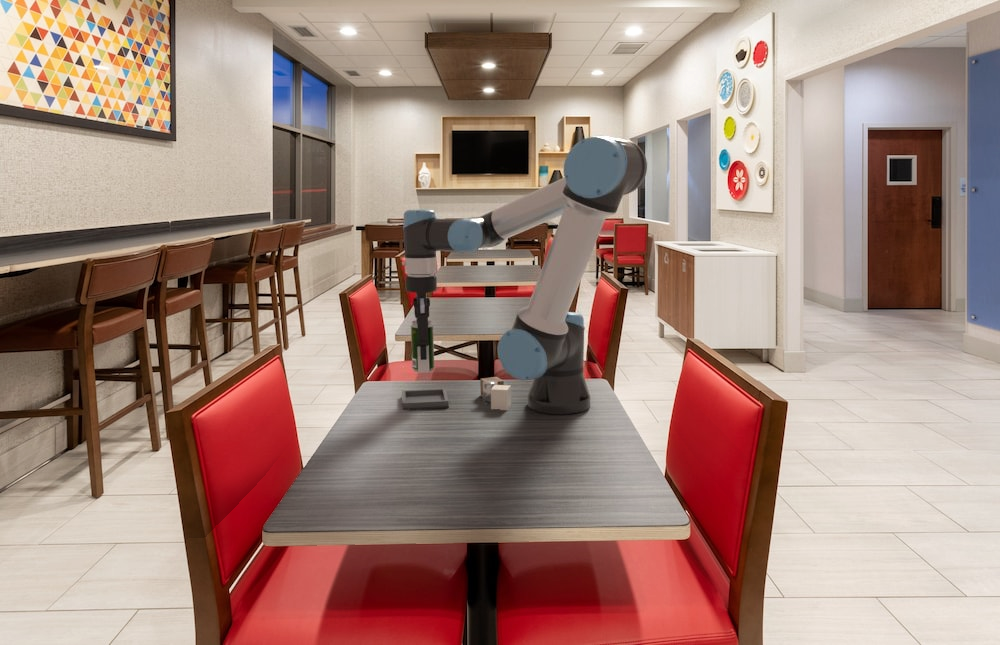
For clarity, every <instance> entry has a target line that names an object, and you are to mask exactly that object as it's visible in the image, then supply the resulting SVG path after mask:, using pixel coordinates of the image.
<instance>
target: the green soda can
mask: <svg viewBox="0 0 1000 645" xmlns="http://www.w3.org/2000/svg"><path fill="white" fill-rule="evenodd" d="M410 339H411V367H412V370H413V371H414V372H417V373H418V352H417V347H415V344H417V343H418V330H417V320H412V321H411V325H410ZM428 341H429V372H431V371H433V370H434V368H435V345H434V324H433V321H432V320H430V319H428Z"/></svg>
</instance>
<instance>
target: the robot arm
mask: <svg viewBox="0 0 1000 645" xmlns="http://www.w3.org/2000/svg"><path fill="white" fill-rule="evenodd" d="M647 170H648V162H647V158H646V154H645V153H644V151H643V149H642V148H641V146H639V145H638V144H636V143H635V142H634V141H632V140H629V139H625V138H617V137H610V136H606V135H594V136H590V137H586V138H583V139H581V140H580V141H578V142H576V143H575V144H574V146H572V147H571V148H570V150H569V151H568V153H567V154H566V157H565V159H564V163H563V176H564V177H562V178H560V179H558V180H556V181H553V182H552V183H548V184H547V185H545V186H543V187H541V188H539V189H536V190H534V191H532V192H531V193H527V194H525V195H524V196H521V197H519V198H517V199H515V200H513V201H511V202H509V203H507V204H504V205H502V206H500V207H498V208H495V209H494V210H492V211H490V212H487V213H485V214H483V215H481V216H476V217H475V216H474V217H462V218H437V216H436V212H435V210H433V209H407V210H406V211H405V212H404V213H403V226H402V233H403V246H404V260H402V261H401V264H402V266H404V273H405V274H406V276H405V277H404V285H405V286H404V289H405V291H406V292H408V293H411V294H412V293H416V294H415V295H416V296H415V298H414V297H413V298H412V300H413V301H412V303H413V304H412V305H413V309H414V317H415V319H416V320H417V330H418V343H417V344H415V347H417V352H418V372H417V373H419V374H421V373H430V371H429V341H428V320H429V317H430V306H431V299H430V297H427V293H433V292H435V291H437V289H438V288H437V286H438V284H437V282H438V280H437V275H436V273H437V265H438V264H437V252H452V253H453V252H454V253H460V254H463V253H474V252H476V251H478V249H482V248H483V249H485V248H493V247H495V246H496V247H497V246H499V245H501V244H503V242H504V241H505V240H507V239H509V238H511V237H513V236H516V235H518V234H521V233H523V232H526V231H528V230H530V229H533V228H535V227H538V226H539V225H541V224H542V225H543V224H544V223H546V222H547V223H548V222H549V221H552V220H554V219H556V218H559V217H560V219H559V221H558V225H557V227H556V230H555V232H554V235H553V237H552V241H551V243H550V246H549V249H548V251H547V254H546V257H545V259H544V262H543V264H542V268H541V270H540V272H539V276H538V278H537V281H536V283H535V285H534V289H533V292H532V293H531V297H530V299H529V302H528V305H527V306H524V307H522V308H520V309H519V310H518V312H517V315H516V317H515V320H514V322H513V325H512V328H511V329H509V330H506V331H505V333H503V334H502V335H501V337H500V338H499V341H498V343H497V348H496V349H497V357H498V360H499V361H500V364H501V366H502V368H503V369H504V371H505V373H507V374H508V375H510V376H511V377H512V378H514V379H517V380H519V381H531V380H532V382H531V385H530V389H529V391H528V394H527V406H528V408H529V409H530V410H533V411H535V412H539V413H542V414H550V415H569V414H570V415H571V414H572V415H573V414H577V413H582V412H585V411H587V410H589V409H590V408H591V394H590V390H589V389H588V388H589V387H588V384H587V382H586V379H585V376H584V359H585V356H584V355H585V354H584V352H585V351H584V350H585V347H584V346H585V328H586V327H585V321H584V316H583V314H581V313H579V312H574V311H573V312H572V311H570V308H571V306H572V303H573V300H574V298H575V295H576V293H577V291H578V288H579V286H580V283H581V281H582V278H583V275H584V273H585V271H586V268H587V266H588V263H589V260H590V258H591V256H592V253H593V251H594V248H595V245H596V243H597V240H598V238H599V236H600V233H601V231H602V228H603V226H604V224H605V220H607V218H609V217H611V216H613V215H615V214H617V211H618V209H619V206H620V203H621V201H622V199H623V196H625V195H629V194H631V193H633V192H635V191H636V190H637V189H638V188H639V187H640V186H641V185H642V184H643V182H644V181H645V178H646V176H647V172H648V171H647Z"/></svg>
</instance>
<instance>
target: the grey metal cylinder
mask: <svg viewBox="0 0 1000 645" xmlns="http://www.w3.org/2000/svg"><path fill="white" fill-rule="evenodd" d="M494 385H498V382H496V381H484V382H483V397H482V402H484V403H487V404H486V405H491V389H492V387H493V386H494ZM484 403H483V404H484Z"/></svg>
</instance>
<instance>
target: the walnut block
mask: <svg viewBox="0 0 1000 645" xmlns="http://www.w3.org/2000/svg"><path fill="white" fill-rule="evenodd" d="M484 381H496V382H498V385H505V383H504V380H503V379H501V378H499V377H498V376H491V377H485V378H484V377H483V378H480V382H479V384H480V396H481V397H482V398H483V382H484Z"/></svg>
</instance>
